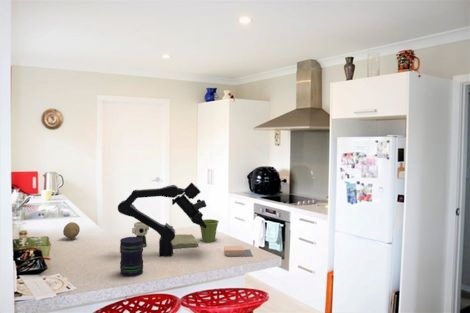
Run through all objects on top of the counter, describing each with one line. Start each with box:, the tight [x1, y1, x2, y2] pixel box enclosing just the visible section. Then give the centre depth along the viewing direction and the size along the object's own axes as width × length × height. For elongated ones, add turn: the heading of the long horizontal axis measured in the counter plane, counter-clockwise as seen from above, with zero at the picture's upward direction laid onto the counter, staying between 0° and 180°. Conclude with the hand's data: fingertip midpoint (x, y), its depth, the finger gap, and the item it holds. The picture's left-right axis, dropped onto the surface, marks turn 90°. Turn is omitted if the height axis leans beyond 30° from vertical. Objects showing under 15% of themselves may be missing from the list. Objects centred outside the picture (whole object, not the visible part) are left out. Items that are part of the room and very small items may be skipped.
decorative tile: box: [171, 233, 199, 250], centre depth 223 cm, size 19×20×4 cm
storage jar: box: [119, 236, 144, 278], centre depth 175 cm, size 10×10×15 cm
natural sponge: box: [62, 221, 81, 240], centre depth 230 cm, size 9×9×10 cm
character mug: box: [131, 221, 150, 247], centre depth 217 cm, size 11×7×13 cm, turn 139°
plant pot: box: [199, 218, 219, 243], centre depth 230 cm, size 12×12×11 cm
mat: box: [226, 249, 254, 258], centre depth 206 cm, size 13×11×1 cm
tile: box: [223, 245, 246, 256], centre depth 205 cm, size 2×8×10 cm
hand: (206, 227), depth 204 cm, fingers closed
